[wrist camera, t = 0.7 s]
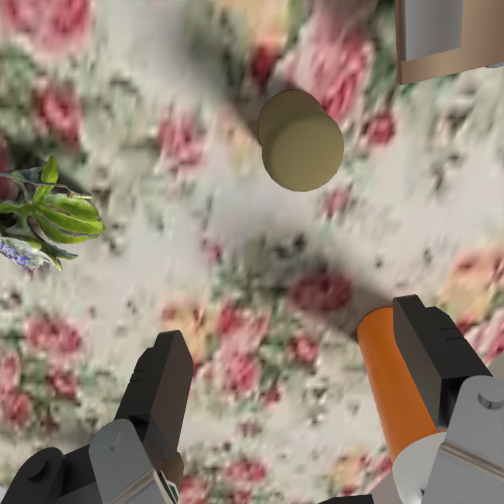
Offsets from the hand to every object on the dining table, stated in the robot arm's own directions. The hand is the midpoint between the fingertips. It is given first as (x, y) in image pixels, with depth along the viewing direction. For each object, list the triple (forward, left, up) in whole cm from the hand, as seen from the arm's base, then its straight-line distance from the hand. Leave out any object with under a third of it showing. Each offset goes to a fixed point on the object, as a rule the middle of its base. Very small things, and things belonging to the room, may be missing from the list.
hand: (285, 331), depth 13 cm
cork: (-4, +3, -22) cm, 22 cm away
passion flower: (-2, -22, -22) cm, 32 cm away
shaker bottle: (+21, +10, -22) cm, 32 cm away
